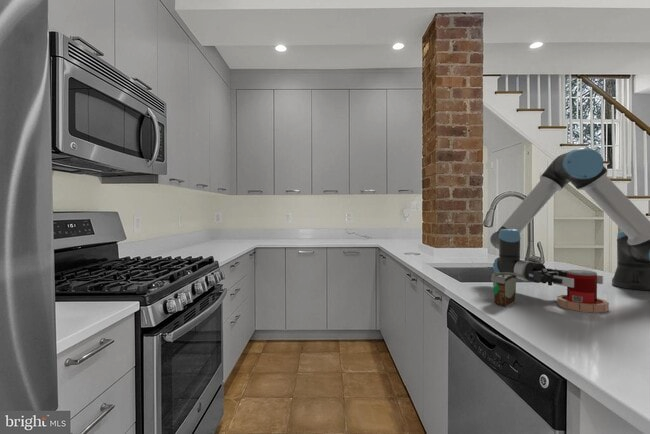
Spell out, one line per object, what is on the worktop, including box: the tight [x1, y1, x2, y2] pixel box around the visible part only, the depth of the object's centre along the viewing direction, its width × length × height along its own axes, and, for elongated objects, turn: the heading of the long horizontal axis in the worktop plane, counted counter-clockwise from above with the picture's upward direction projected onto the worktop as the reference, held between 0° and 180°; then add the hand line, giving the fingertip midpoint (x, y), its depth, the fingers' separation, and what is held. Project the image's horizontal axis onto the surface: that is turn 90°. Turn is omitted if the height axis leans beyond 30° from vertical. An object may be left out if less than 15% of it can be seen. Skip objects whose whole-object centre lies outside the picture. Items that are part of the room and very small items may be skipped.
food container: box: [490, 272, 517, 308], centre depth 124 cm, size 12×6×10 cm, turn 134°
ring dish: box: [556, 294, 610, 313], centre depth 118 cm, size 13×13×2 cm
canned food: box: [566, 269, 598, 304], centre depth 118 cm, size 8×8×11 cm
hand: (588, 281), depth 116 cm, fingers open, 13 cm apart
